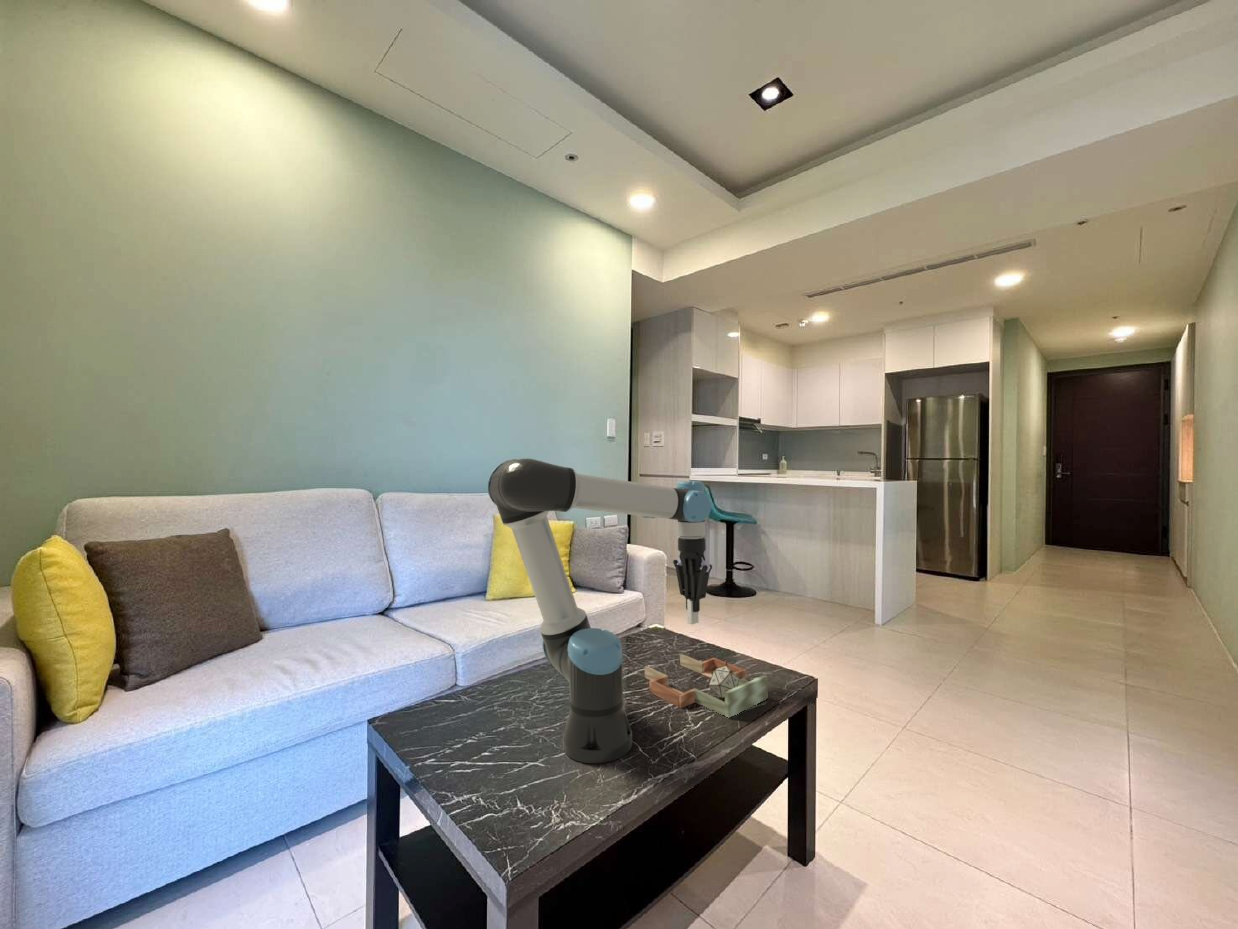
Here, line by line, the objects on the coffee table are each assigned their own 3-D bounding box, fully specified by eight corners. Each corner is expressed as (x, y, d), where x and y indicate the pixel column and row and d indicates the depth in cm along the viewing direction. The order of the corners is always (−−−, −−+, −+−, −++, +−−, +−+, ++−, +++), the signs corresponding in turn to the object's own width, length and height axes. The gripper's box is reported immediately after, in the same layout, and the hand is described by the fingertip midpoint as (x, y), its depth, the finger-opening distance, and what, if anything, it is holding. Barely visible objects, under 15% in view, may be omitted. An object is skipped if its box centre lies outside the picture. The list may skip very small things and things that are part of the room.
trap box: (714, 725, 115) (713, 699, 115) (631, 682, 140) (630, 660, 140) (779, 694, 130) (779, 671, 130) (694, 660, 154) (693, 640, 155)
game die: (732, 713, 128) (749, 690, 123) (701, 703, 127) (716, 680, 122) (730, 683, 136) (746, 660, 130) (701, 673, 135) (715, 650, 130)
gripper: (718, 537, 134) (720, 625, 134) (684, 533, 145) (686, 615, 144) (699, 540, 130) (700, 631, 129) (665, 535, 140) (666, 620, 140)
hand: (693, 622), depth 137 cm, fingers closed
